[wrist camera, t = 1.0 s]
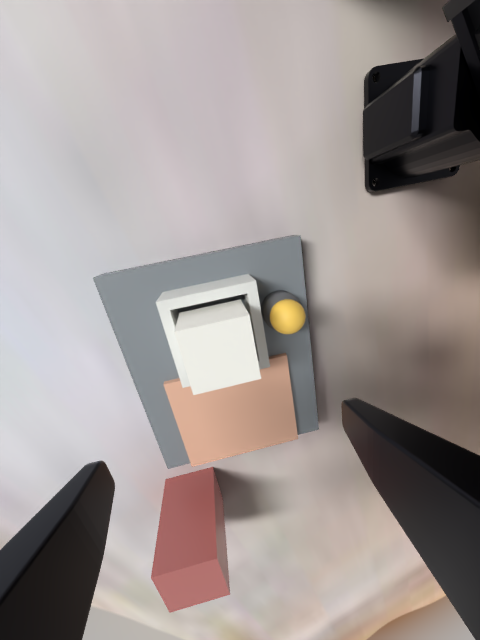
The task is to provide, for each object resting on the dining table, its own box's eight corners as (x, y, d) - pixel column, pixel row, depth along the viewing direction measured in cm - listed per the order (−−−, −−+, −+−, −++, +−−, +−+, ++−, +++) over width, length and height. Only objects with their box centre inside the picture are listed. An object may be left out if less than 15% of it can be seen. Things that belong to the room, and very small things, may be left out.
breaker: (240, 299, 15) (249, 314, 12) (250, 353, 16) (261, 378, 13) (179, 312, 14) (174, 331, 12) (195, 366, 16) (193, 395, 13)
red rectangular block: (212, 466, 23) (217, 558, 17) (222, 498, 25) (230, 594, 18) (165, 479, 23) (151, 577, 16) (178, 510, 24) (169, 612, 18)
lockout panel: (292, 235, 17) (320, 236, 13) (311, 417, 23) (335, 457, 19) (102, 274, 16) (68, 287, 12) (170, 453, 22) (162, 504, 18)
